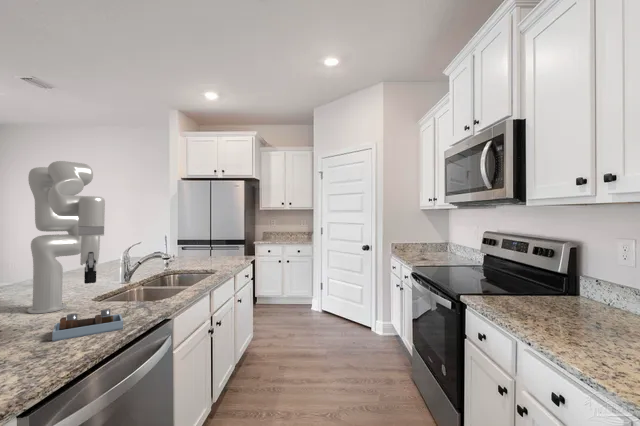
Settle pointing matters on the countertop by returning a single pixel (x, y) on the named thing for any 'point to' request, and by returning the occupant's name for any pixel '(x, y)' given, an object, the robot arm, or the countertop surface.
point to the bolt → (83, 322)
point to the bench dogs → (103, 312)
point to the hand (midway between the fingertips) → (90, 280)
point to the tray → (88, 329)
